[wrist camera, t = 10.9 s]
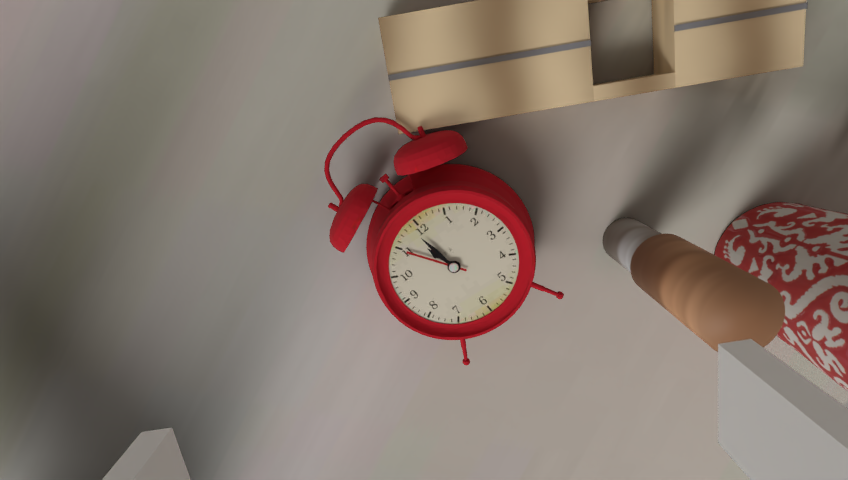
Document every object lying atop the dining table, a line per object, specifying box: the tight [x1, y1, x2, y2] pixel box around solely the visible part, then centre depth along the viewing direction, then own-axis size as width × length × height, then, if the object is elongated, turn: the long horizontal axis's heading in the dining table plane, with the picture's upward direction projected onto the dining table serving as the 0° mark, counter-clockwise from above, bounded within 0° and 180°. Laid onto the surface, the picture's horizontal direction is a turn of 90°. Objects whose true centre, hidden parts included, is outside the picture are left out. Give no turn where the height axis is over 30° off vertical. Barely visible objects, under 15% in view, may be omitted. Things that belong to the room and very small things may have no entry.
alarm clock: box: [324, 117, 564, 365], centre depth 29 cm, size 10×6×15 cm
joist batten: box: [378, 0, 808, 134], centre depth 27 cm, size 22×6×3 cm, turn 99°
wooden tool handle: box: [603, 218, 785, 352], centre depth 26 cm, size 3×3×12 cm
